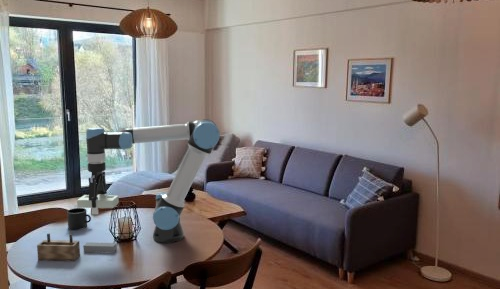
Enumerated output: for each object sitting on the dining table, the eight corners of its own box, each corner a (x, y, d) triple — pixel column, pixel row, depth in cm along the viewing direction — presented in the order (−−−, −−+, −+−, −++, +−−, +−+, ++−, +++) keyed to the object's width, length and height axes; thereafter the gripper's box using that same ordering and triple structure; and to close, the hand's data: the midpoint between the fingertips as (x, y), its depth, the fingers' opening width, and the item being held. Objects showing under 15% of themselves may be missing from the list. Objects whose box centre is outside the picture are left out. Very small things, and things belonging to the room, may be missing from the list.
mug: (87, 230, 223) (87, 213, 221) (65, 229, 223) (64, 213, 221) (94, 224, 232) (93, 208, 230) (72, 223, 232) (71, 207, 230)
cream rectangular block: (118, 202, 198) (118, 193, 197) (112, 208, 190) (112, 198, 189) (84, 202, 198) (84, 192, 197) (77, 207, 190) (76, 197, 189)
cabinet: (80, 255, 191) (78, 233, 190) (74, 261, 186) (73, 238, 184) (44, 254, 192) (43, 232, 190) (38, 260, 186) (36, 237, 184)
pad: (116, 249, 199) (116, 243, 199) (113, 252, 195) (113, 246, 195) (87, 248, 199) (86, 242, 199) (83, 251, 195) (83, 245, 195)
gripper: (96, 157, 201) (99, 204, 205) (78, 167, 180) (81, 218, 184) (112, 157, 201) (114, 204, 204) (96, 167, 180) (98, 218, 184)
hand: (98, 210), depth 194 cm, fingers closed on cream rectangular block, 8 cm apart
